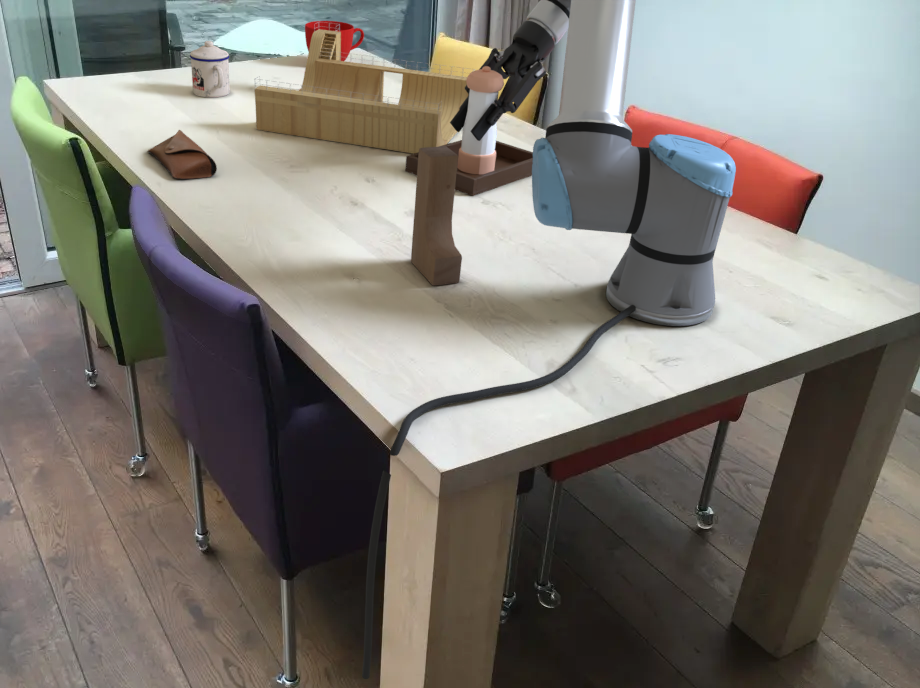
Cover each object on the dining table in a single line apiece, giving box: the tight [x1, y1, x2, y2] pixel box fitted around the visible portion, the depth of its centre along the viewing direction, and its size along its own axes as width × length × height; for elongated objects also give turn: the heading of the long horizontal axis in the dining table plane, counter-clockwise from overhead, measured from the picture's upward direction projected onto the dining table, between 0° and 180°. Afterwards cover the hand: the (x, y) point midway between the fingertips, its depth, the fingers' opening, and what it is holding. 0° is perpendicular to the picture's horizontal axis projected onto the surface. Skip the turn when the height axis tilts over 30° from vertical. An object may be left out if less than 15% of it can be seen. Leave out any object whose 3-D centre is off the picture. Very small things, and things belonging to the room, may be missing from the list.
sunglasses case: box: [147, 129, 218, 180], centre depth 172 cm, size 18×7×7 cm
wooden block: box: [410, 146, 463, 287], centre depth 132 cm, size 9×4×18 cm, turn 20°
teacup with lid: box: [189, 40, 231, 99], centre depth 211 cm, size 12×9×12 cm
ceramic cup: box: [304, 20, 365, 61], centre depth 243 cm, size 13×17×10 cm
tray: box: [404, 139, 533, 197], centre depth 176 cm, size 22×17×3 cm
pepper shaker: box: [457, 66, 505, 174], centre depth 172 cm, size 7×7×19 cm
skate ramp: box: [253, 22, 476, 154], centre depth 198 cm, size 40×35×16 cm
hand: (464, 131), depth 171 cm, fingers closed on pepper shaker, 5 cm apart
